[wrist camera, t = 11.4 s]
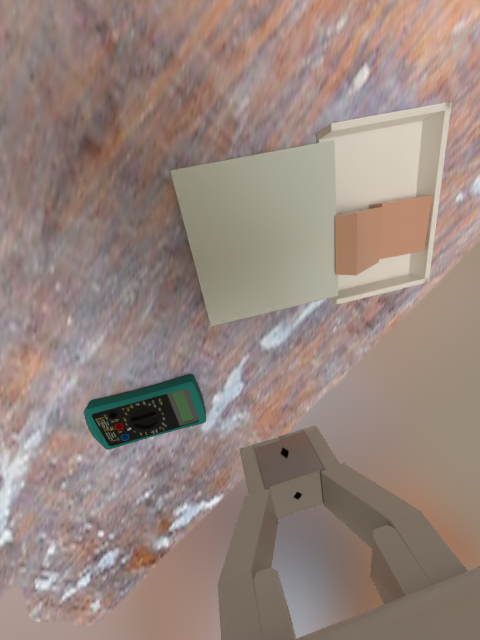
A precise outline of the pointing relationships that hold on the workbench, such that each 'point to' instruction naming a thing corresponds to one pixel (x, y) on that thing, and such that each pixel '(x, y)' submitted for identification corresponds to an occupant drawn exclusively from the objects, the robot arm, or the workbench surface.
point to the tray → (389, 184)
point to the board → (262, 230)
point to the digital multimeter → (146, 412)
